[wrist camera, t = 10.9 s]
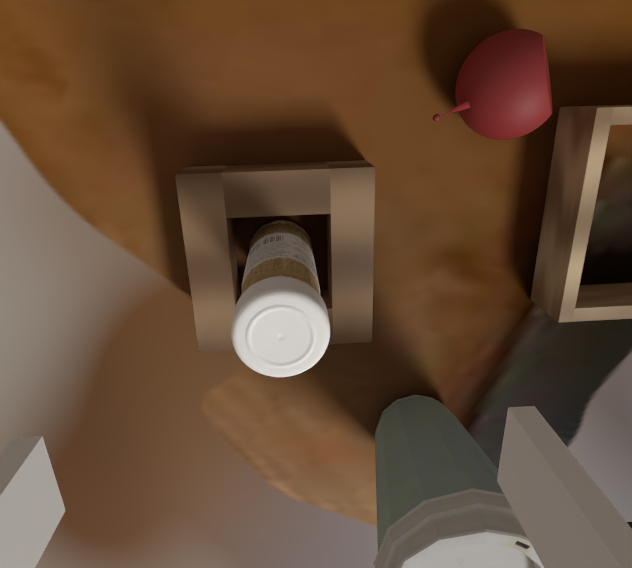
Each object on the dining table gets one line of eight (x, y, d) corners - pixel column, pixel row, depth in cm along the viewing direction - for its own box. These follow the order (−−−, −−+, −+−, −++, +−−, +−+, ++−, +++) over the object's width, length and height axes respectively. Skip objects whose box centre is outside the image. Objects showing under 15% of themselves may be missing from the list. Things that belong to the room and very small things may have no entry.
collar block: (186, 166, 31) (174, 174, 28) (365, 160, 32) (375, 167, 28) (206, 328, 35) (199, 351, 32) (364, 320, 36) (372, 342, 33)
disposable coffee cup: (426, 487, 43) (495, 675, 29) (324, 446, 40) (345, 629, 26) (495, 400, 40) (611, 563, 26) (389, 349, 37) (453, 499, 23)
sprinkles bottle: (257, 283, 34) (242, 389, 22) (243, 224, 33) (217, 301, 20) (318, 272, 34) (338, 371, 22) (307, 211, 33) (322, 282, 20)
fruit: (449, 48, 31) (419, 59, 25) (543, 16, 28) (536, 20, 22) (466, 139, 34) (442, 170, 27) (555, 118, 31) (551, 148, 24)
